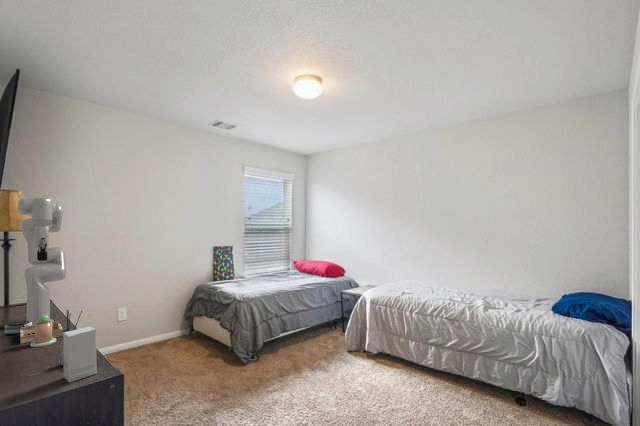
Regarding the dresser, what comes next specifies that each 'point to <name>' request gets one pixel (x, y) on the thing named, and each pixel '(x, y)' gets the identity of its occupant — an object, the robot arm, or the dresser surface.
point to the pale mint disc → (42, 343)
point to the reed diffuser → (61, 358)
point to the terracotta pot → (43, 329)
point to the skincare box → (79, 353)
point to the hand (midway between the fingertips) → (42, 259)
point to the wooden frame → (31, 329)
